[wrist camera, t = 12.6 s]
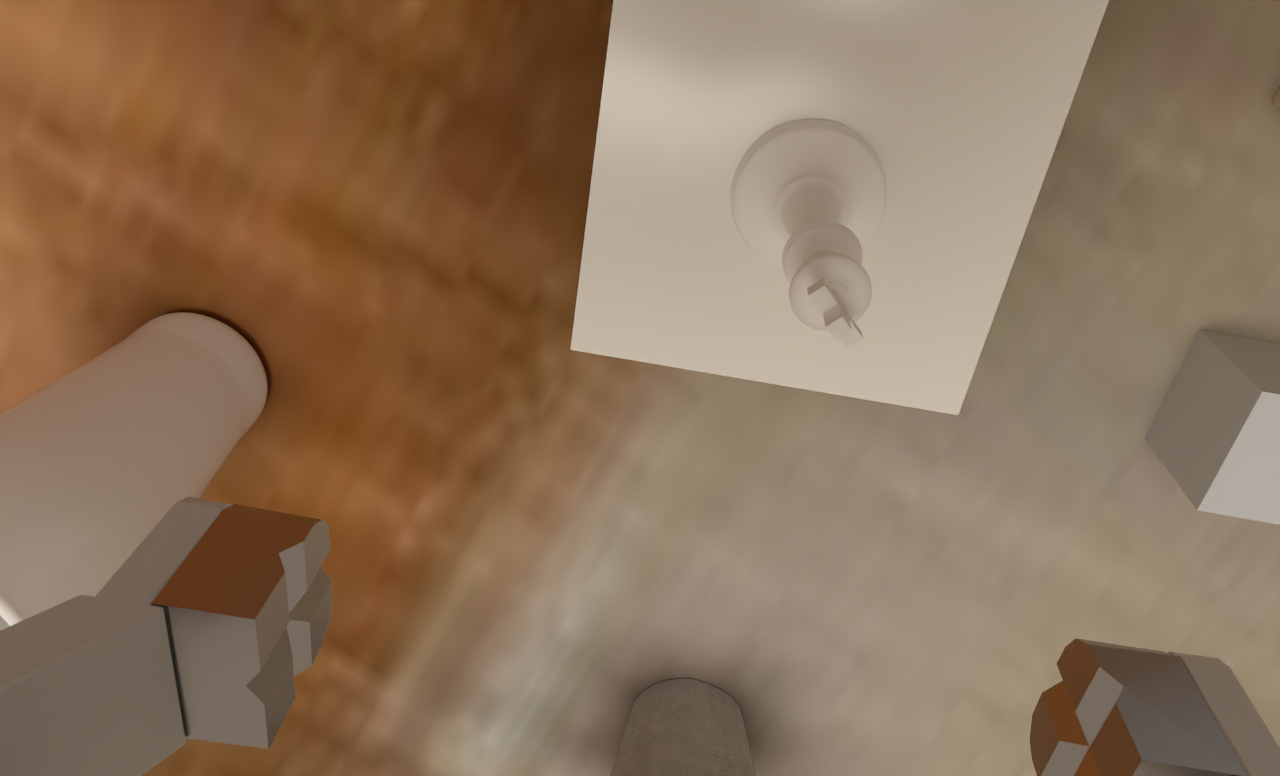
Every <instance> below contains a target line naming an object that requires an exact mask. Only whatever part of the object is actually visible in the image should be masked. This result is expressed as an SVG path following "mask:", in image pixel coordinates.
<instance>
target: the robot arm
mask: <svg viewBox="0 0 1280 776" xmlns="http://www.w3.org/2000/svg"><path fill="white" fill-rule="evenodd" d="M329 551H330V541H329V530H328V525H327V524H326V523H325V522H324V521H323V520H320V519H315V518H309V517H304V516H298V515H293V514H287V513H281V512H276V511H270V510H265V509H259V508H254V507H248V506H243V505H237V504H233V505H231V504H227V503H221V502H216V501H210V500H205V499H199V498H194V497H187V498H185V499H182V500H180V501H178V502H176V503H175V504H174V505H173V506H172V507H171V509H170V510H169V511H168V512H167V513H166V514H165V516H164V517H163V518H162V519H161V520H160V521H159V523H158V524H157V525H156V526H155V527H154V528H153V530H152V531H151V532H150V533H149V534H148V535H147V537H146V538H145V539H144V540H143V541H142V542H141V544H140V545H139V546H138V547H137V548H136V549H135V551H134V552H133V553H132V554H131V555H130V556H129V558H128V559H127V560H126V561H125V562H124V563H123V564H122V566H121V567H120V568H119V569H118V570H117V571H116V573H115V574H114V575H113V576H112V577H111V578H110V580H109V581H108V582H107V583H106V584H105V585H104V587H103V588H102V589H101V590H100V591H99V592H98V594H97V595H96V596H95V597H94V596H87V595H79V596H76V597H74V598H72V599H70V600H67V601H65V602H63V603H61V604H58V605H56V606H54V607H52V608H50V609H47V610H45V611H43V612H41V613H38V614H36V615H34V616H32V617H29V618H27V619H25V620H23V621H21V622H18V623H16V624H14V625H12V626H9V627H7V628H5V629H3V630H0V776H142V775H143V774H145V773H146V772H148V771H149V770H150V769H152V768H153V767H154V766H156V765H157V764H158V763H160V762H161V761H162V760H164V759H165V758H166V757H168V756H169V755H171V754H172V753H173V752H175V751H176V750H177V749H179V748H180V747H181V746H183V745H184V744H185V743H186V738H188V739H196V740H204V741H211V742H219V743H227V744H234V745H242V746H250V747H257V748H265V749H269V747H270V745H271V743H272V742H273V740H274V738H275V736H276V734H277V732H278V730H279V728H280V726H281V724H282V722H283V720H284V719H285V717H286V715H287V713H288V711H289V709H290V707H291V705H292V703H293V701H294V699H295V687H294V676H295V675H297V674H299V673H300V672H302V671H303V670H305V669H307V668H308V667H310V666H312V664H313V662H314V660H315V658H316V656H317V654H318V652H319V650H320V648H321V646H322V643H323V640H324V637H325V633H326V630H327V626H328V623H329V620H330V613H331V604H332V580H331V579H330V578H329V577H328V575H327V574H326V573H325V572H324V571H323V569H322V568H321V565H322V563H323V561H324V560H325V558H326V556H327V554H328V552H329ZM1057 666H1058V668H1059V671H1060V674H1061V676H1062V679H1063V681H1062V682H1060V683H1058V684H1056V685H1055V686H1053V687H1051V688H1049V689H1048V690H1046V691H1044V692H1043V693H1042V694H1041V697H1040V699H1039V701H1038V703H1037V706H1036V708H1035V710H1034V712H1033V715H1032V724H1031V733H1030V746H1031V754H1032V760H1033V764H1034V767H1035V770H1036V773H1037V776H1280V748H1279V746H1278V744H1277V743H1276V741H1275V740H1274V738H1273V736H1272V735H1271V733H1270V731H1269V730H1268V728H1267V727H1266V725H1265V723H1264V722H1263V720H1262V718H1261V717H1260V715H1259V714H1258V712H1257V710H1256V709H1255V707H1254V705H1253V704H1252V702H1251V701H1250V699H1249V697H1248V696H1247V694H1246V692H1245V691H1244V689H1243V688H1242V686H1241V684H1240V683H1239V681H1238V680H1237V678H1236V676H1235V675H1234V673H1233V671H1232V670H1231V668H1230V667H1229V666H1227V665H1226V664H1225V663H1223V662H1222V661H1221V660H1219V659H1218V658H1211V657H1204V656H1197V655H1189V654H1182V653H1175V652H1169V653H1166V652H1162V651H1156V650H1149V649H1142V648H1136V647H1129V646H1122V645H1116V644H1109V643H1102V642H1096V641H1089V640H1082V639H1075V640H1073V641H1072V642H1071V643H1070V644H1069V645H1067V646H1066V647H1065V649H1064V651H1063V653H1062V655H1061V657H1060V658H1059V660H1058V662H1057Z"/></svg>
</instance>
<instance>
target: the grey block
mask: <svg viewBox="0 0 1280 776" xmlns="http://www.w3.org/2000/svg"><path fill="white" fill-rule="evenodd" d="M1145 440H1146V441H1147V443H1148V444H1149V445H1150V447H1151V448H1152V450H1153V451H1154V452H1155V454H1156V455H1157V456H1158V458H1159V459H1160V460H1161V462H1162V463H1163V464H1164V466H1165V467H1166V469H1167V470H1168V471H1169V473H1170V474H1171V475H1172V477H1173V478H1174V479H1175V481H1176V482H1177V483H1178V485H1179V486H1180V488H1181V489H1182V490H1183V492H1184V493H1185V494H1186V496H1187V497H1188V498H1189V500H1190V501H1191V502H1192V504H1193V505H1194V507H1195V508H1196V509H1197V510H1198V511H1204V512H1210V513H1216V514H1221V515H1227V516H1233V517H1239V518H1244V519H1250V520H1256V521H1262V522H1267V523H1273V524H1279V525H1280V344H1279V343H1273V342H1267V341H1261V340H1255V339H1250V338H1244V337H1238V336H1232V335H1227V334H1221V333H1215V332H1209V331H1203V330H1198V332H1197V334H1196V336H1195V338H1194V340H1193V342H1192V344H1191V346H1190V348H1189V350H1188V352H1187V354H1186V356H1185V358H1184V360H1183V362H1182V364H1181V366H1180V368H1179V371H1178V373H1177V375H1176V377H1175V379H1174V381H1173V383H1172V385H1171V387H1170V389H1169V391H1168V393H1167V395H1166V397H1165V399H1164V401H1163V403H1162V405H1161V407H1160V409H1159V411H1158V413H1157V415H1156V417H1155V419H1154V422H1153V424H1152V426H1151V428H1150V430H1149V432H1148V434H1147V436H1146V438H1145Z"/></svg>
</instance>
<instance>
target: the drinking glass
mask: <svg viewBox="0 0 1280 776" xmlns="http://www.w3.org/2000/svg"><path fill="white" fill-rule="evenodd" d="M267 391H268V387H267V377H266V373H265V370H264V367H263V364H262V362H261V360H260V358H259V356H258V355H257V353H256V352H255V350H254V349H253V347H252V346H251V345H250V344H249V343H248V342H247V340H246V339H245V338H244V337H242V336H241V335H240V334H239V333H238V332H237V331H235V330H234V329H233V328H231V327H230V326H228V325H226V324H224V323H223V322H221V321H219V320H216V319H214V318H211V317H209V316H205V315H201V314H196V313H189V312H177V313H169V314H165V315H161V316H158V317H156V318H154V319H152V320H150V321H148V322H146V323H145V324H143V325H142V326H141V327H139V328H138V329H137V330H135V331H134V332H133V333H131V334H130V335H129V336H127V337H126V338H125V339H124V340H122V341H121V342H119V343H117V344H116V345H114V346H112V347H111V348H109V349H108V350H106V351H104V352H103V353H101V354H99V355H98V356H96V357H94V358H93V359H91V360H89V361H88V362H86V363H84V364H83V365H81V366H79V367H78V368H76V369H74V370H73V371H71V372H69V373H67V374H66V375H64V376H62V377H61V378H59V379H57V380H56V381H54V382H52V383H51V384H49V385H47V386H45V387H44V388H42V389H40V390H39V391H37V392H35V393H34V394H32V395H30V396H28V397H27V398H25V399H23V400H22V401H20V402H18V403H16V404H15V405H13V406H11V407H10V408H8V409H6V410H4V411H3V412H1V413H0V630H3V629H5V628H7V627H9V626H12V625H14V624H16V623H18V622H21V621H23V620H25V619H27V618H29V617H32V616H34V615H36V614H38V613H41V612H43V611H45V610H47V609H50V608H52V607H54V606H56V605H58V604H61V603H63V602H65V601H67V600H70V599H72V598H74V597H76V596H79V595H87V596H94V597H95V596H96V595H97V594H98V592H99V591H100V590H101V589H102V588H103V587H104V585H105V584H106V583H107V582H108V581H109V580H110V578H111V577H112V576H113V575H114V574H115V573H116V571H117V570H118V569H119V568H120V567H121V566H122V564H123V563H124V562H125V561H126V560H127V559H128V558H129V556H130V555H131V554H132V553H133V552H134V551H135V549H136V548H137V547H138V546H139V545H140V544H141V542H142V541H143V540H144V539H145V538H146V537H147V535H148V534H149V533H150V532H151V531H152V530H153V528H154V527H155V526H156V525H157V524H158V523H159V521H160V520H161V519H162V518H163V517H164V516H165V514H166V513H167V512H168V511H169V510H170V509H171V507H172V506H173V505H174V504H175V503H176V502H178V501H180V500H182V499H185V498H187V497H194V498H199V499H200V498H201V496H202V495H203V493H204V492H205V490H206V489H207V487H208V486H209V484H210V483H211V481H212V480H213V478H214V477H215V475H216V474H217V472H218V471H219V469H220V468H221V467H222V465H223V464H224V462H225V461H226V459H227V458H228V456H229V455H230V453H231V452H232V451H233V449H234V448H235V446H236V445H237V443H238V442H239V441H240V440H241V438H242V437H243V436H244V435H245V434H246V433H247V431H248V430H249V429H250V428H251V427H252V426H253V424H254V423H255V422H256V421H257V419H258V418H259V416H260V415H261V413H262V411H263V409H264V406H265V403H266V399H267Z"/></svg>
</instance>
